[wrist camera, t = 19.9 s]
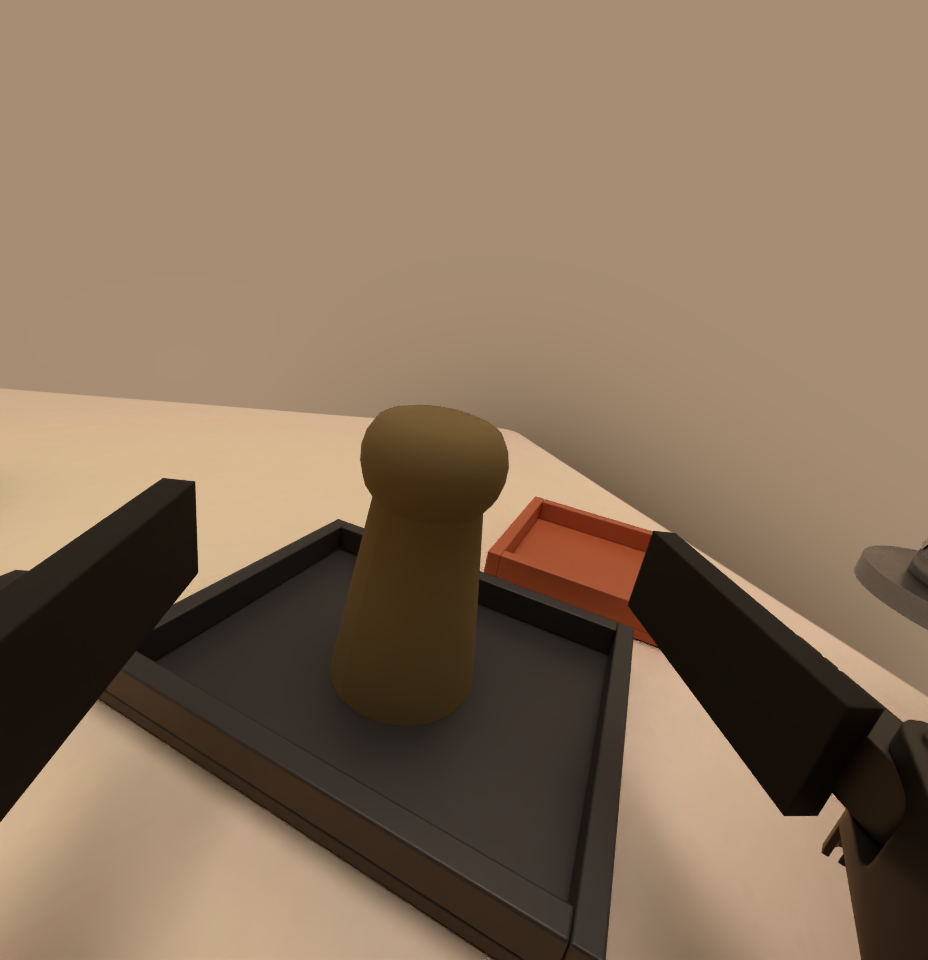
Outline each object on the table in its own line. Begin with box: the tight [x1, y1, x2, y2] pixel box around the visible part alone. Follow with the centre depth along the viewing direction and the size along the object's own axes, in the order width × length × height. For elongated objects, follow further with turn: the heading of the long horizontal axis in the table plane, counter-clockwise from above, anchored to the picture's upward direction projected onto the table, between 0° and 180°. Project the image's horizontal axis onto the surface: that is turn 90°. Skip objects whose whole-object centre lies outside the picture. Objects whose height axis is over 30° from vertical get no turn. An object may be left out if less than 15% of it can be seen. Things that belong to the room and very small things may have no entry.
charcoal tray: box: [99, 519, 634, 960], centre depth 19 cm, size 18×14×2 cm
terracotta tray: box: [484, 497, 658, 647], centre depth 30 cm, size 12×12×2 cm
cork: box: [330, 405, 509, 726], centre depth 17 cm, size 6×6×11 cm
